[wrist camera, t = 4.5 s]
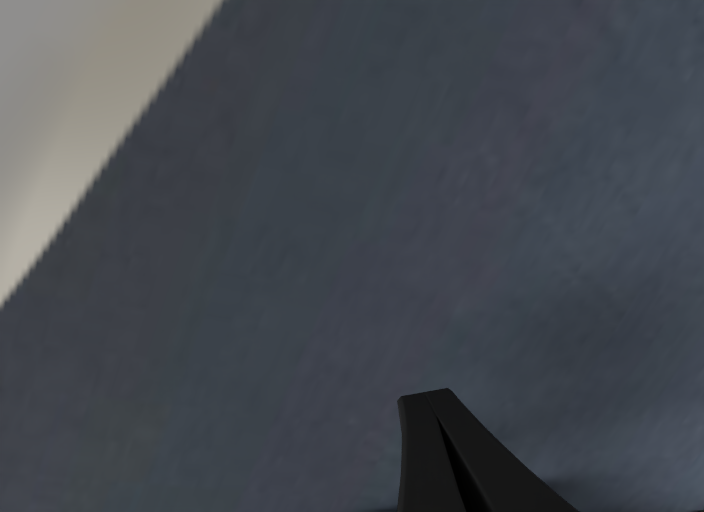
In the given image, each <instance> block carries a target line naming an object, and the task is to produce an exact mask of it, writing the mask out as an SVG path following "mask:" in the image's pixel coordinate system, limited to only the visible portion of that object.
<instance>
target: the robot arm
mask: <svg viewBox="0 0 704 512" xmlns="http://www.w3.org/2000/svg"><path fill="white" fill-rule="evenodd" d="M397 402H398V409H399V417H400V424H401V431H402V460H401V479H400V488H399V498H398V508H397V512H579V511H578V510H577V509H575V508H574V507H573V506H572V505H570V504H569V503H568V502H567V501H565V500H564V499H563V498H562V497H561V496H559V495H558V494H557V493H556V492H555V491H553V490H552V489H551V488H550V487H549V486H548V485H546V484H545V483H544V482H543V481H542V480H541V479H540V478H538V477H537V476H536V475H535V474H534V473H533V472H532V471H530V470H529V469H528V468H527V467H526V466H525V465H524V464H523V463H522V462H520V461H519V460H518V459H517V458H516V457H515V456H514V455H513V454H512V453H511V452H510V451H509V450H508V449H507V448H506V447H505V446H504V445H503V444H501V443H500V442H499V441H498V440H497V439H496V438H495V437H494V436H493V435H492V434H491V433H490V432H489V431H488V430H487V429H486V428H485V427H484V426H483V425H482V424H481V423H480V422H479V421H478V419H477V418H476V417H475V416H474V415H473V414H472V413H471V412H470V411H469V410H468V409H467V408H466V407H465V406H464V404H463V403H462V402H461V401H460V400H459V399H458V398H457V396H456V395H455V394H454V393H453V392H452V391H451V390H450V389H448V388H445V389H439V390H434V391H428V392H423V393H417V394H412V395H406V396H401V397H400V398H399V399H398V401H397Z"/></svg>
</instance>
